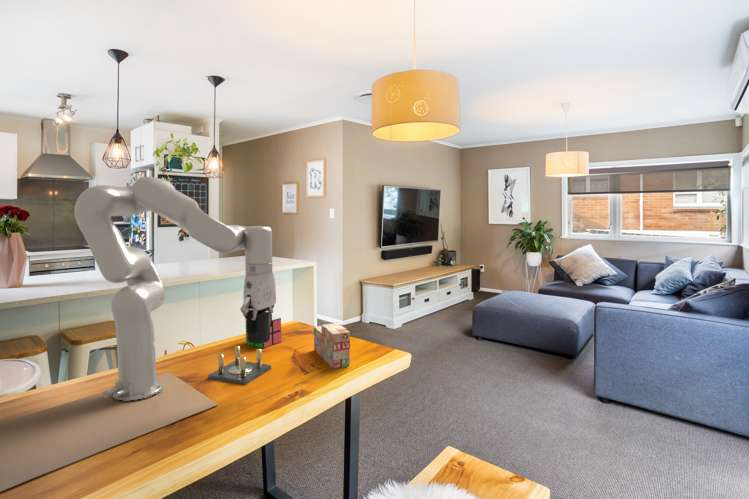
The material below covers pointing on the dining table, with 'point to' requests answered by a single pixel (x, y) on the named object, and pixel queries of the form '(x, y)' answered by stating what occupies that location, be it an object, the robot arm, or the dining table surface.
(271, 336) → the puzzle cube
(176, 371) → the dining table surface
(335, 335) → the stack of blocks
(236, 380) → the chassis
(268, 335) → the supplement bottle
